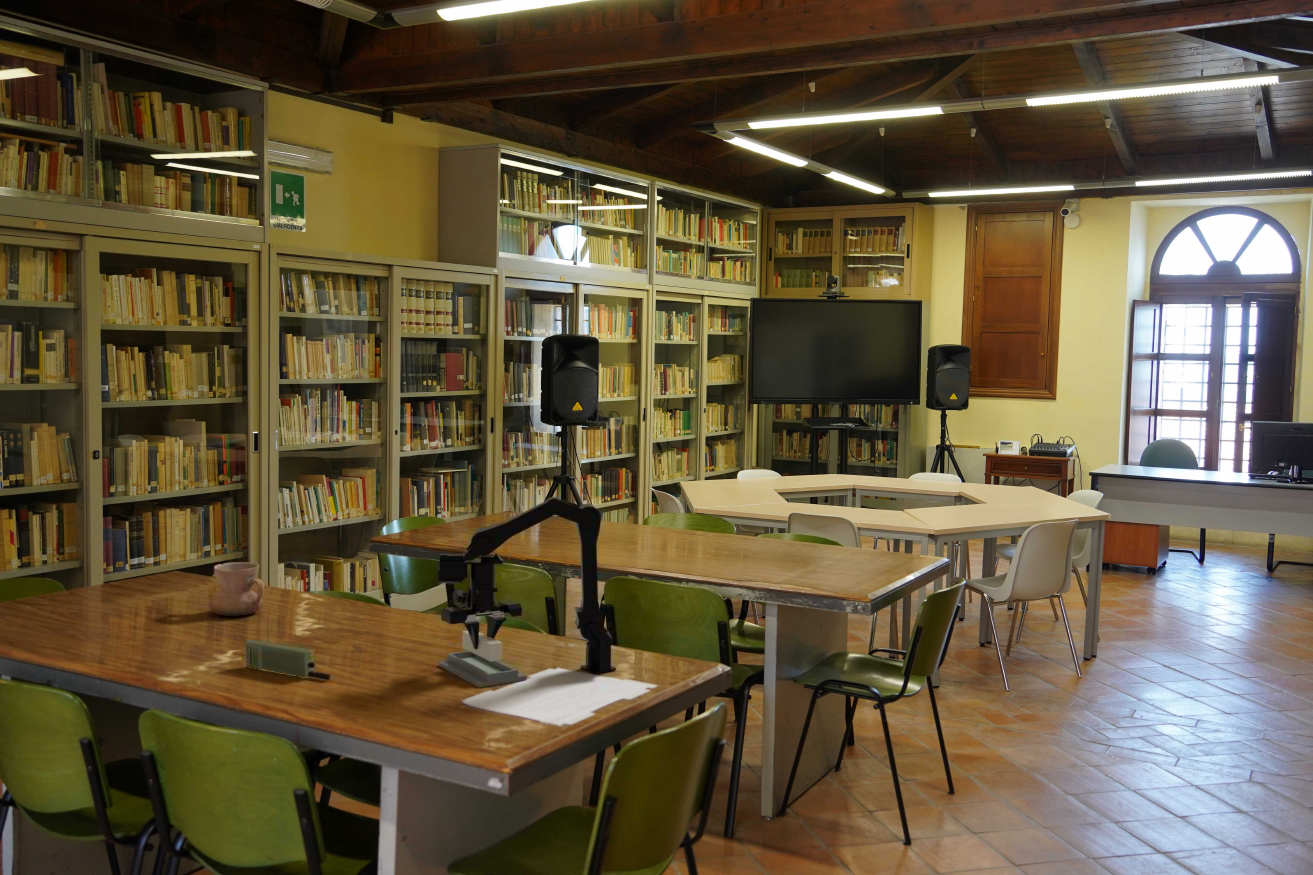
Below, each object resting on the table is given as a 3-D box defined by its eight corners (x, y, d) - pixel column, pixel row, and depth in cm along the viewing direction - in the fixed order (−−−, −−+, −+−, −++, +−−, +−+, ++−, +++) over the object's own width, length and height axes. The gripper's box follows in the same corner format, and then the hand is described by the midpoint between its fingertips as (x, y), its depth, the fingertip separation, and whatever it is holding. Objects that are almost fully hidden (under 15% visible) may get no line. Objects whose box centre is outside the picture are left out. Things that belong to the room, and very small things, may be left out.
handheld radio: (254, 665, 253) (334, 680, 242) (243, 669, 250) (323, 684, 239) (254, 638, 253) (333, 651, 242) (243, 641, 250) (323, 655, 239)
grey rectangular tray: (526, 679, 245) (526, 668, 245) (479, 687, 238) (479, 676, 238) (483, 658, 263) (483, 648, 263) (438, 665, 256) (438, 654, 256)
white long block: (502, 659, 245) (502, 642, 245) (490, 661, 243) (490, 644, 243) (473, 646, 257) (473, 629, 257) (462, 647, 256) (462, 631, 255)
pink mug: (194, 615, 305) (195, 566, 304) (233, 605, 318) (233, 558, 317) (242, 623, 297) (242, 573, 296) (279, 613, 311) (280, 565, 310)
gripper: (502, 573, 261) (501, 636, 262) (431, 580, 251) (431, 645, 251) (524, 580, 252) (523, 645, 253) (451, 588, 242) (451, 656, 242)
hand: (482, 647), depth 250 cm, fingers closed on white long block, 3 cm apart
